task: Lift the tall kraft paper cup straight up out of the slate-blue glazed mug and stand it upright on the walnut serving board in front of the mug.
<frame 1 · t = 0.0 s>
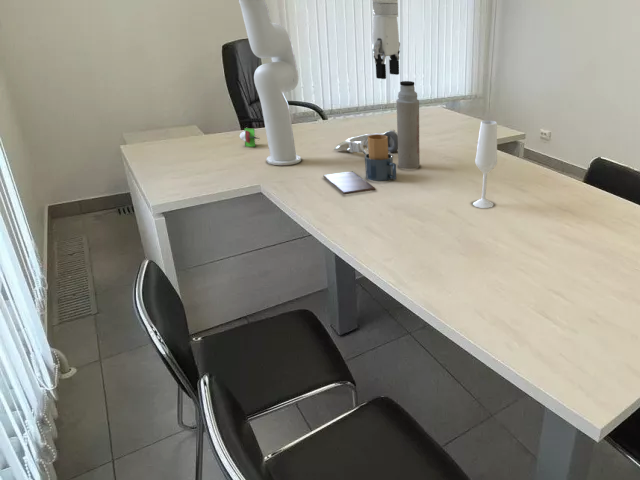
hand: (388, 76, 170), 31 cm above the table, tool pointing down, fingers open, 9 cm apart
paper cup: (379, 176, 188), point 1 cm above the table, touching mug
headphones: (371, 151, 216), on the table
champagne flute: (483, 204, 171), on the table
serving board: (348, 184, 182), on the table
mug: (379, 178, 188), on the table, touching paper cup
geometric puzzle: (251, 146, 216), on the table
thermos bottle: (408, 167, 200), on the table
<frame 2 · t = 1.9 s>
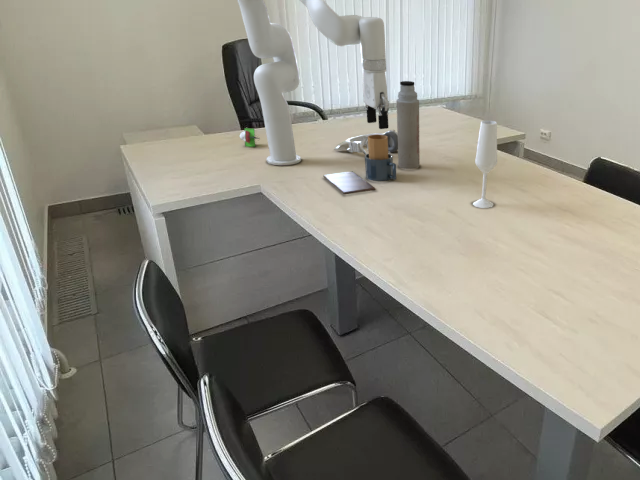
hand: (377, 125, 177), 17 cm above the table, tool pointing down, fingers open, 9 cm apart
nothing on the table moved.
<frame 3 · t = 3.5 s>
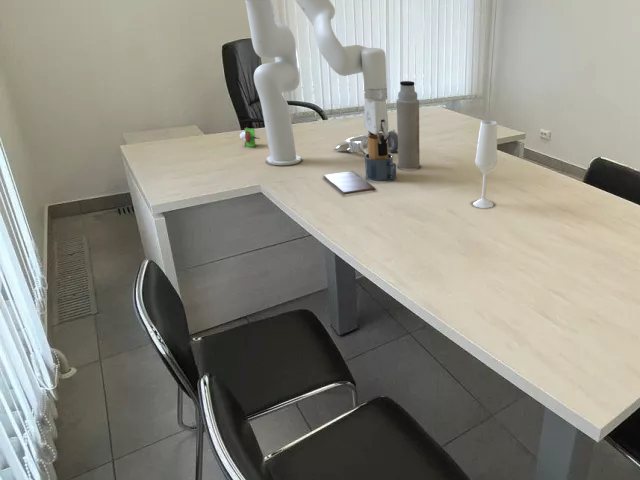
hand: (378, 152, 183), 9 cm above the table, tool pointing down, fingers closed on paper cup, 6 cm apart
paper cup: (379, 176, 188), point 1 cm above the table, touching gripper, mug
everything else where it was.
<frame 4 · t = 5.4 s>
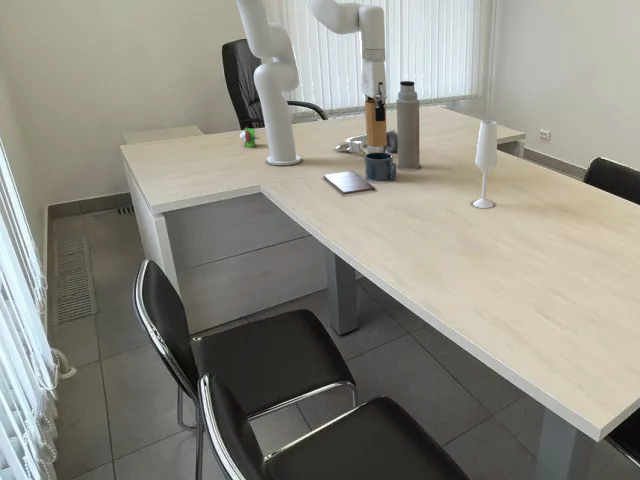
hand: (375, 118, 176), 19 cm above the table, tool pointing down, fingers closed on paper cup, 6 cm apart
paper cup: (377, 144, 181), point 11 cm above the table, touching gripper
mug: (379, 178, 188), on the table
everything else where it was.
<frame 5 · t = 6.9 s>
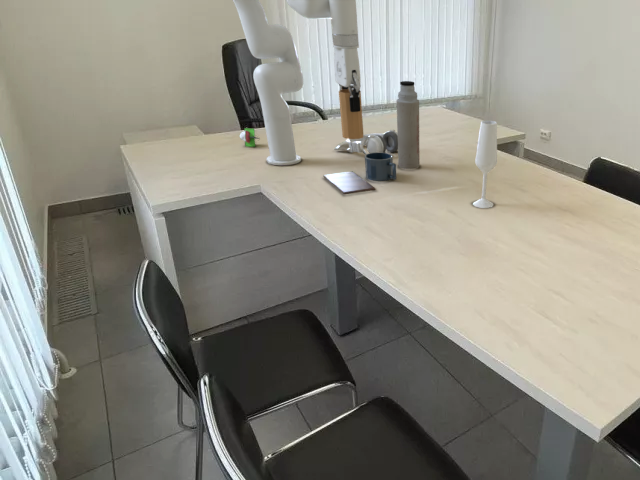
hand: (350, 108, 167), 23 cm above the table, tool pointing down, fingers closed on paper cup, 6 cm apart
paper cup: (353, 136, 173), point 15 cm above the table, touching gripper
everything else where it was.
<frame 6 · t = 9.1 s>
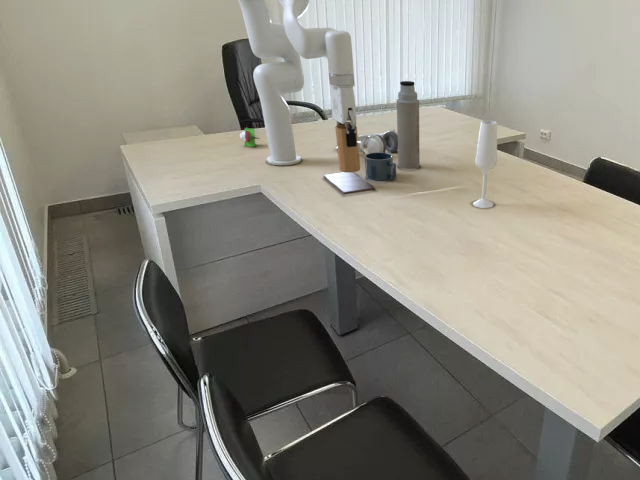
hand: (347, 143, 172), 14 cm above the table, tool pointing down, fingers closed on paper cup, 6 cm apart
paper cup: (349, 169, 177), point 6 cm above the table, touching gripper
everything else where it was.
when the fingers open (9 cm above the table, at t = 10.7 s): paper cup stays where it is, resting on serving board.
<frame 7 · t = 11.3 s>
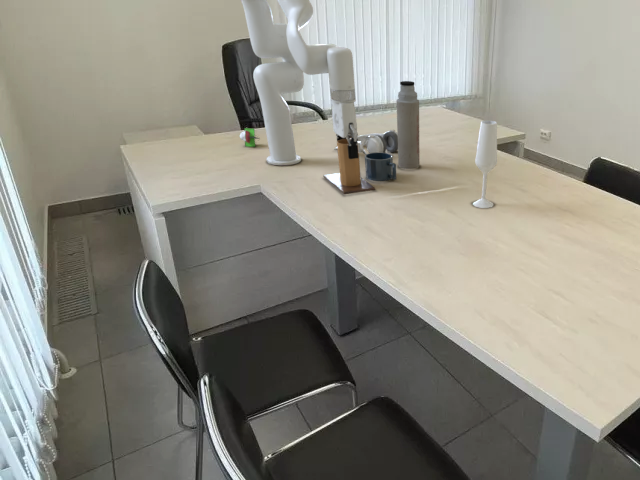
hand: (348, 154, 174), 10 cm above the table, tool pointing down, fingers open, 9 cm apart
paper cup: (350, 182, 180), point 1 cm above the table, touching serving board
everything else where it was.
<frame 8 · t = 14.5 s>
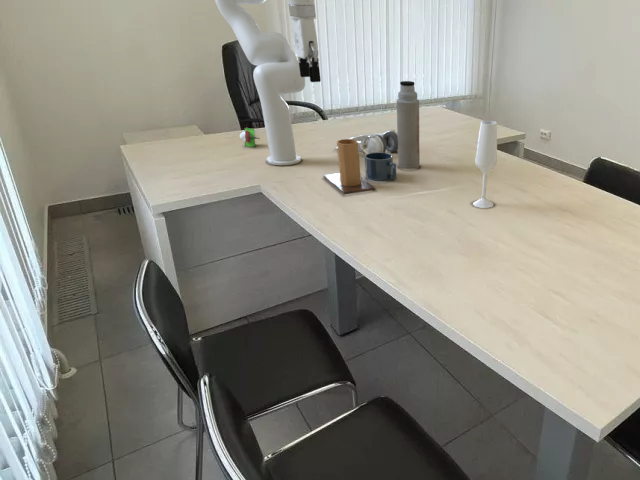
hand: (310, 79, 167), 30 cm above the table, tool pointing down, fingers open, 9 cm apart
nothing on the table moved.
at the end: paper cup inside the target area on the serving board (2.1 cm from its centre), point 1.2 cm above the serving board's base; paper cup tilted 0°; the gripper is holding nothing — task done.
